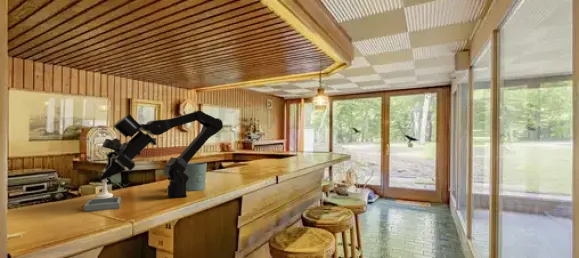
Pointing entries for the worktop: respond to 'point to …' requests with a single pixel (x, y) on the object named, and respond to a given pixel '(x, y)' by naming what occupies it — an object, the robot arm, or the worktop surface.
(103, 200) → the tray
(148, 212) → the worktop surface
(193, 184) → the grey cylinder
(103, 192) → the chess piece
